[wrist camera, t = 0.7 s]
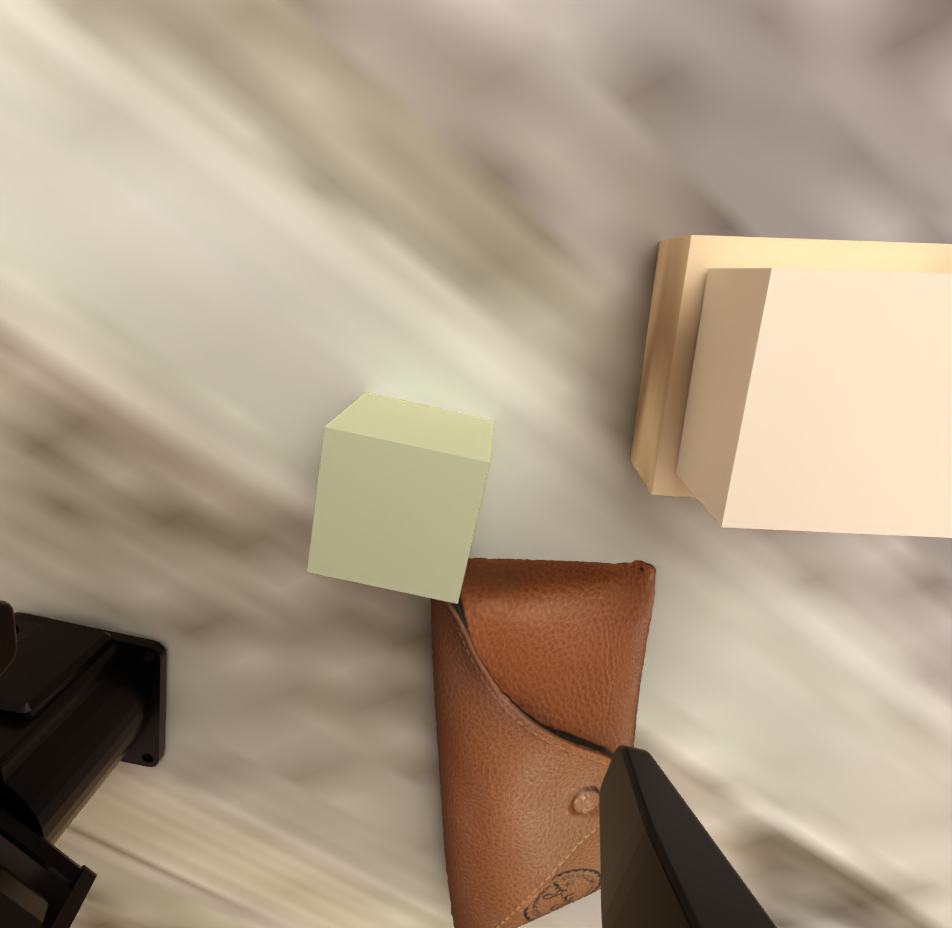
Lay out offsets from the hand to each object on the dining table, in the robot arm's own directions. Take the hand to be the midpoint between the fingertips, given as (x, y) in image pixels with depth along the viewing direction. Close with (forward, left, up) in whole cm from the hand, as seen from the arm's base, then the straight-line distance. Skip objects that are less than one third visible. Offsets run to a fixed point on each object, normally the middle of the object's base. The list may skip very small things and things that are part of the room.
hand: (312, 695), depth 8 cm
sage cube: (-1, 0, -12) cm, 12 cm away
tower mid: (+5, -10, -9) cm, 14 cm away
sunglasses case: (-12, -7, -13) cm, 19 cm away
